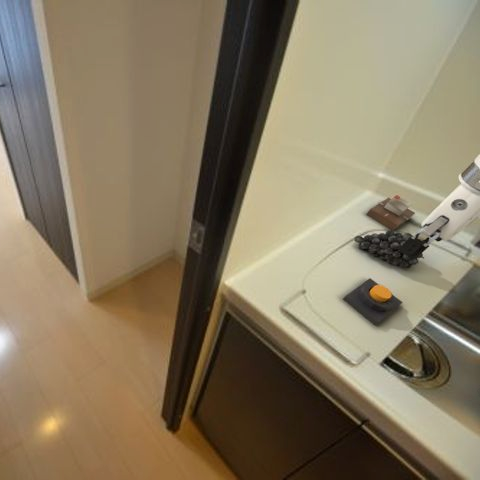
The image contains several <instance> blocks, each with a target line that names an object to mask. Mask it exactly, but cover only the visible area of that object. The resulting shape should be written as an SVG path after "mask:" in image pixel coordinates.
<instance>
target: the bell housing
mask: <svg viewBox="0 0 480 480" xmlns="http://www.w3.org/2000/svg"><path fill="white" fill-rule="evenodd" d="M376 285H380V284H379V283H378V282H376V281H375V280H373V279H372V278H371V277H369V278H368V279H366V280H365V281H364V282H362V283H361V284H359V285H358V286H357V287H356V288H354V289H353V290H351V291H350V292H348V293H347V294H345V296H344V297H343V298H342V300H343V301H344V302H345V303H346V304H347V305H349V306H350V307H351V308H353V309H354V310H355V311H356V312H358V313H359V314H360V315H361V316H362V317H363V318H364V319H366V320H367V321H368V322H369V323H371V324H372V325H373V326H376V325H378V324H379V323H380V322H381V321H382V320H384V319H385V318H386V317H387V316H388V315H390V314H391V313H392V312H393V311H395V309H397V308H398V307H399V306H400V305H402V304H403V301H402V300H401V299H399V298H398V297H396V295H393V293H392V292H391V294H392V296H391V297H390V298H389V299H388V300H387V301H386V302H379V301H376V300H375V299H373V298H372V297H371V295H370V293H369V292H370V290H371V289H372V288H373V287H374V286H376Z"/></svg>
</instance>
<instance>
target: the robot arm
mask: <svg viewBox="0 0 480 480" xmlns="http://www.w3.org/2000/svg"><path fill="white" fill-rule="evenodd" d="M458 180H459V182H460V184H459V185H457V187H456V188H455V189H454V190H453V191H451V193H450V194H448V196H447V197H446V198H444V200H443V201H441V202H440V204H438V205H437V207H435V209H433V211H432V212H431V213H430V214H429V215H428V216H427V217H426V218H425V219H424V220H423V221H422V222H421V223H420V224H421V225H420V226H421V227H422V228H420V229H419V230H418V231H417V232H416V233H414V234H413V235H412V234H411V235H412V236H411V237H410V238H409V239H408V240H407V241H406V242H405V243H404V244H403V245H402V246H401V247H400V248H399V251H401V252H402V253H404V254H405V255H407V256H408V257H410V258H411V259H416V258H417V257H418V256H419V255H420V254H421V253H422V254H423V253H424V252H425V251H426V250H427V249H429V248H430V244H431V243H433V242H434V241H436V242H441V241H449V240H451V239H453V238H454V237H455V236H457V235H458V234H460V233H461V232H462V231H463V230H466V228H467V227H469V226H470V225H471V224H472V223H473V222H474V221H475V220H477V219H478V218H479V217H480V153H479V154H478V155H477V156H476V157H475V158H474V159H473V160H472V161H471V162H470V164H468V165H467V166H466V167H465V168H464V170H462V172H460V173H459V174H458ZM417 259H418V258H417Z"/></svg>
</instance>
